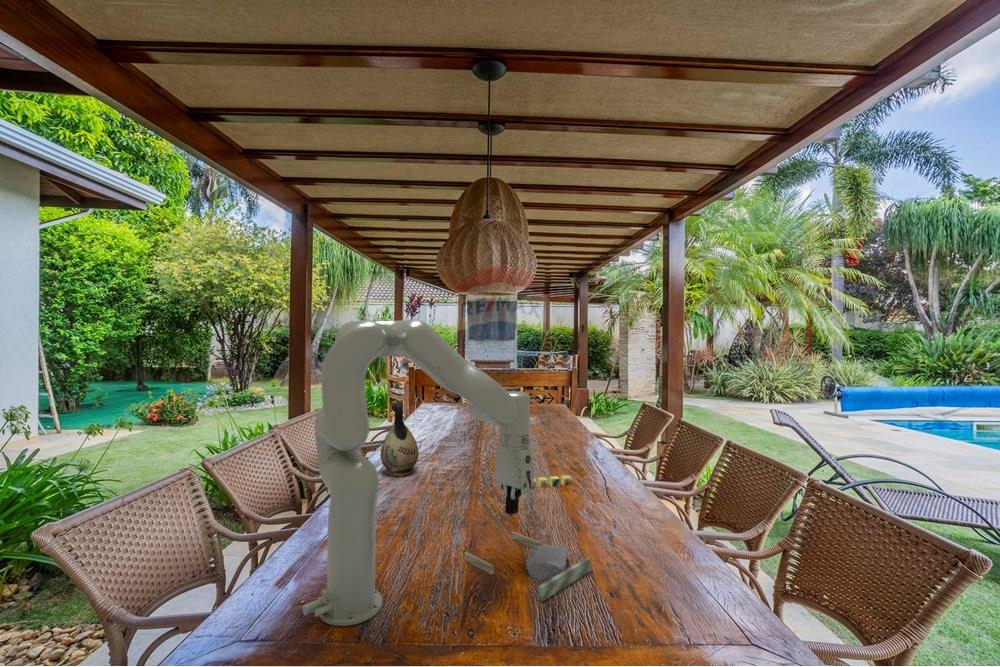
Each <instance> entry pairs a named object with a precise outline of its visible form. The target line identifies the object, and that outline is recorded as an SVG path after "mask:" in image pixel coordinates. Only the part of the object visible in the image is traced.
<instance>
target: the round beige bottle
mask: <svg viewBox="0 0 1000 667" xmlns="http://www.w3.org/2000/svg"><path fill="white" fill-rule="evenodd" d="M403 408H404V404H403V402H400V401H396V402H394V403H392V405H391V410H392V412H393V411H394V420H393V421H394V422H393V424H392V426H391V427H390V429H389V430H388V432H387V434H386V436H385V437H384V439H383V441H382V444H381V448H380V455H379V456H380V461H381V464H382V465H383V466H384V467H385V469H386V470H387V471H388V473H389V475H390V476H394V477H395V476H396V477H402V476H406V475H409V474H412V472H413V468H414V467H415V466H416V464H417V462H418V460H419V453H420V452H419V446H418V443H417V440H416V439H415V436H414V435H413V434H412V432H411V430H409V427H408V426H407V425H406V424H405V421H404V412H403V411H404V410H403Z"/></svg>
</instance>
